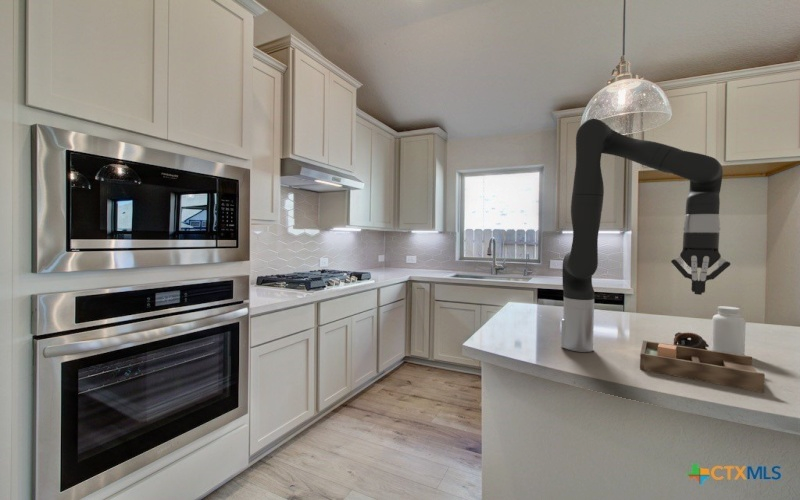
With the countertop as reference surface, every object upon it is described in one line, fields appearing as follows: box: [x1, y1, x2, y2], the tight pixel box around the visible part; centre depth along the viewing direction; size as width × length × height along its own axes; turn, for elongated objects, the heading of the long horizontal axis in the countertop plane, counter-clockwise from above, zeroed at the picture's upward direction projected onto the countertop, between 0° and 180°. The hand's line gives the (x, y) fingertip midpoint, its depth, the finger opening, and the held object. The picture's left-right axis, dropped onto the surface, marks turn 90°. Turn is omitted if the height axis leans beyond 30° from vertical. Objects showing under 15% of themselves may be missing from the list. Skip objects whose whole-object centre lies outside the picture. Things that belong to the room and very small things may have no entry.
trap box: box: [639, 339, 766, 393], centre depth 100 cm, size 25×16×4 cm, turn 53°
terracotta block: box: [657, 342, 677, 359], centre depth 101 cm, size 4×4×4 cm
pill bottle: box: [711, 305, 747, 355], centre depth 115 cm, size 8×8×15 cm
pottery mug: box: [673, 332, 710, 350], centre depth 114 cm, size 12×10×8 cm
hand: (697, 294), depth 97 cm, fingers closed
